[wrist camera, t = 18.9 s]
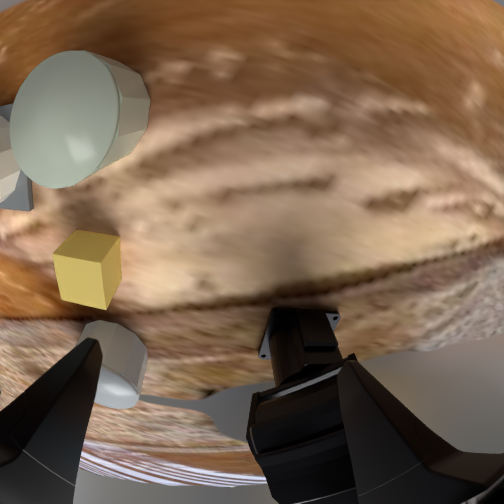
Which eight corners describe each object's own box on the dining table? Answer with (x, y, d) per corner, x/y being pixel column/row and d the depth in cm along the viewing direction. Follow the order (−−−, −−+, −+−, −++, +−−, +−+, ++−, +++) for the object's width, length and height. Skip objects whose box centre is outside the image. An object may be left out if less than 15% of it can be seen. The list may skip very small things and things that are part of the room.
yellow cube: (122, 279, 21) (106, 310, 17) (81, 271, 20) (61, 299, 17) (120, 235, 19) (100, 263, 16) (76, 229, 18) (52, 253, 15)
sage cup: (143, 168, 17) (111, 192, 12) (55, 164, 16) (10, 187, 11) (157, 61, 13) (128, 42, 8) (63, 68, 12) (16, 63, 7)
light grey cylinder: (150, 373, 27) (142, 414, 22) (90, 360, 26) (77, 398, 21) (144, 328, 23) (131, 374, 19) (76, 314, 22) (54, 355, 18)
